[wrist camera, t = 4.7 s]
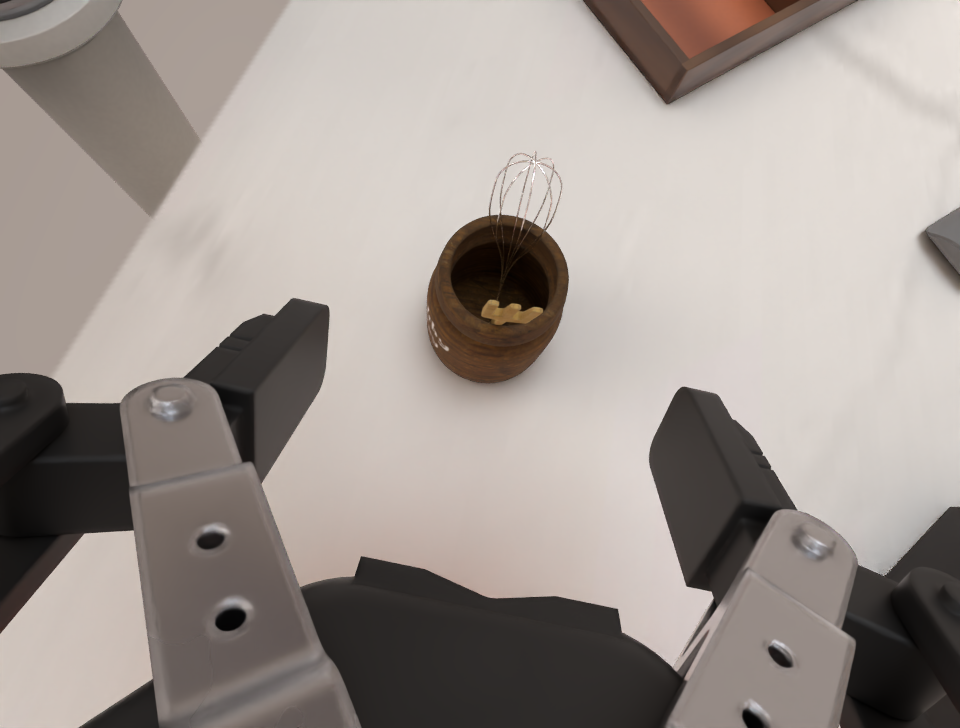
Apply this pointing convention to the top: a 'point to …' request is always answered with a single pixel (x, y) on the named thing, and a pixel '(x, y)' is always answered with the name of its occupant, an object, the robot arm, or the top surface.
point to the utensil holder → (497, 293)
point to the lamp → (953, 550)
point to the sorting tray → (702, 34)
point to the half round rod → (948, 237)
